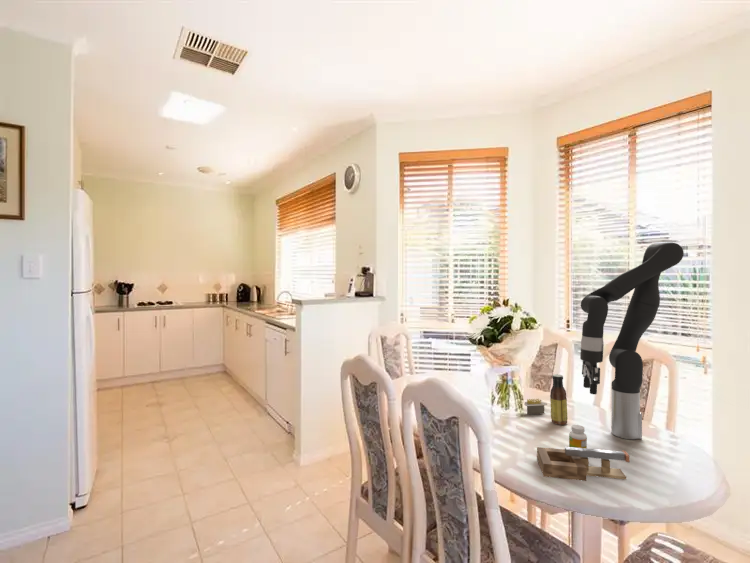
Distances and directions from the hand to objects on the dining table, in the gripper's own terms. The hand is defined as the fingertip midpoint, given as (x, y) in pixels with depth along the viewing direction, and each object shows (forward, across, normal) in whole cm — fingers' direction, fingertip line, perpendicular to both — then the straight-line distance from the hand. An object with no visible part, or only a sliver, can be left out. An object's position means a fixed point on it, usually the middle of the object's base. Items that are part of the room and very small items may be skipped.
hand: (589, 390), depth 152 cm
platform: (+19, +22, +16) cm, 33 cm away
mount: (+17, -30, +4) cm, 35 cm away
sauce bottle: (+18, +12, +8) cm, 23 cm away
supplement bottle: (+18, -18, +8) cm, 27 cm away
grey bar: (+12, -30, +6) cm, 33 cm away
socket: (+18, -30, +16) cm, 39 cm away
